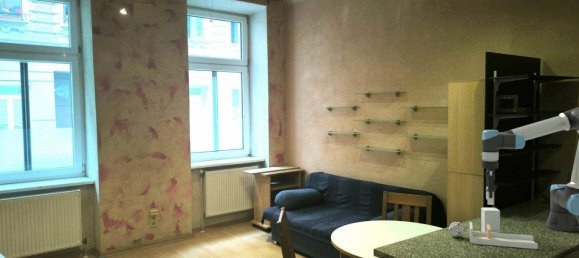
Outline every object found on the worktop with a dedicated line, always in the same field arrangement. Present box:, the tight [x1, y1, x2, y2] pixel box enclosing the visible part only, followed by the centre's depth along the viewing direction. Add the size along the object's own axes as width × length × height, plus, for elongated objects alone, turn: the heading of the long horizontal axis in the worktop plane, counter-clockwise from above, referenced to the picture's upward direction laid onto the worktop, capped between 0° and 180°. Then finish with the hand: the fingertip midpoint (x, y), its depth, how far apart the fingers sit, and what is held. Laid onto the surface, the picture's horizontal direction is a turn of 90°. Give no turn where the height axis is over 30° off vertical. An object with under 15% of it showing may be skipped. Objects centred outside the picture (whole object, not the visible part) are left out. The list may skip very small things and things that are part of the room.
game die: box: [446, 220, 468, 239], centre depth 210 cm, size 9×8×10 cm
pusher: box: [487, 224, 491, 239], centre depth 203 cm, size 1×10×6 cm, turn 158°
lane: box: [469, 221, 539, 250], centre depth 201 cm, size 28×13×7 cm, turn 68°
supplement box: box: [480, 207, 501, 233], centre depth 215 cm, size 7×7×13 cm
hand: (489, 201), depth 215 cm, fingers open, 13 cm apart
